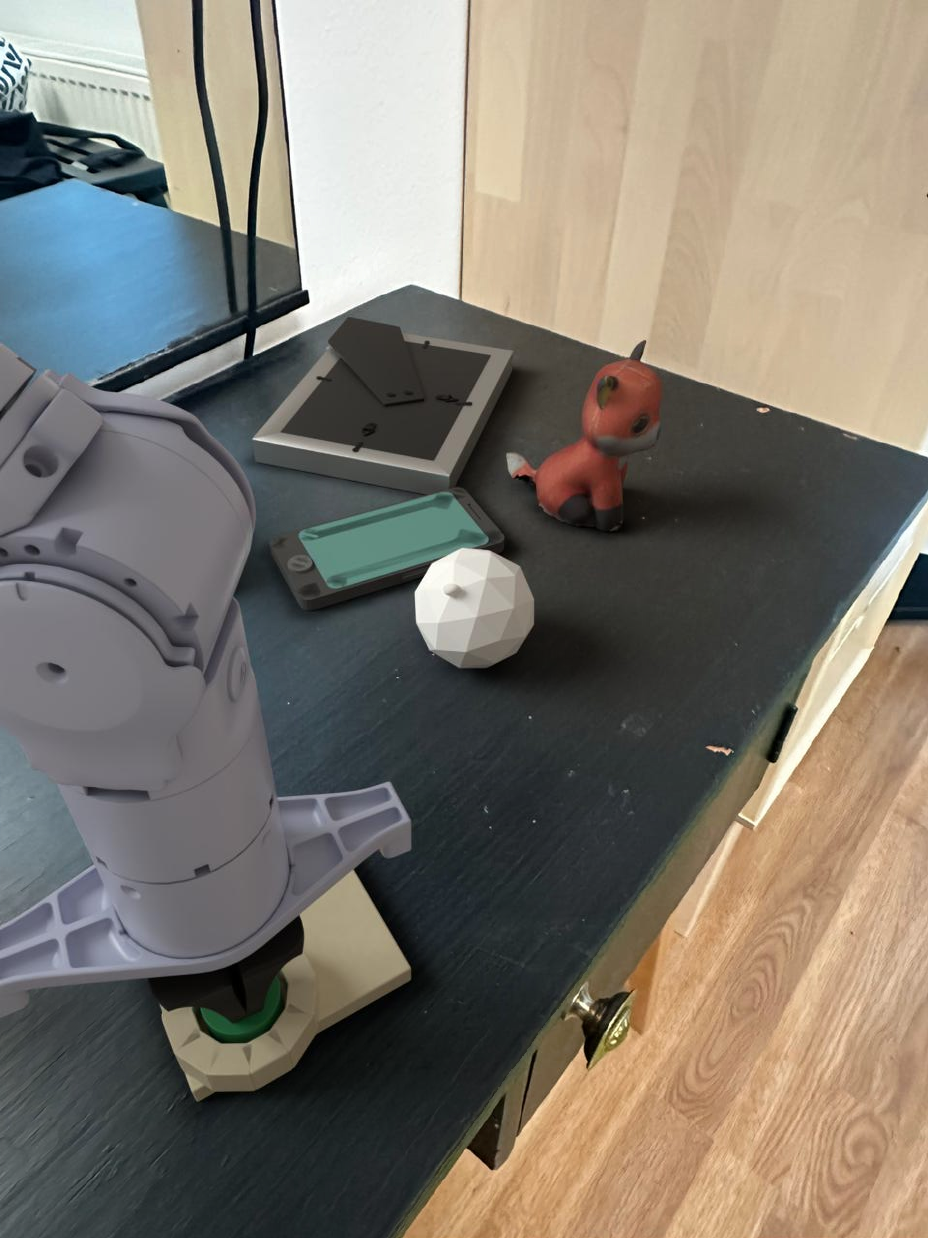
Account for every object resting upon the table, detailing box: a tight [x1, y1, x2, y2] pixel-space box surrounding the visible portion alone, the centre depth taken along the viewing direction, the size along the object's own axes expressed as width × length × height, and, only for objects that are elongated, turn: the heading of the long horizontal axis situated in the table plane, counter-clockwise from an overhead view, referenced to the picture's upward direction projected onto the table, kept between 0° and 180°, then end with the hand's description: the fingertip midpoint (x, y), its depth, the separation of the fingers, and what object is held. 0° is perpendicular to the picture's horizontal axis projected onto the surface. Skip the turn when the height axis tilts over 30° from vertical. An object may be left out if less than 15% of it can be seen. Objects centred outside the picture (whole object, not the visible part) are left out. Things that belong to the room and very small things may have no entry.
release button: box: [200, 968, 284, 1044], centre depth 37 cm, size 3×3×2 cm
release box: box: [159, 868, 412, 1102], centre depth 39 cm, size 10×9×3 cm
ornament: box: [414, 548, 535, 669], centre depth 53 cm, size 7×7×8 cm
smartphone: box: [269, 486, 505, 612], centre depth 62 cm, size 7×1×15 cm
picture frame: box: [251, 316, 514, 496], centre depth 75 cm, size 16×3×21 cm
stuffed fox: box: [506, 339, 663, 532], centre depth 64 cm, size 8×11×12 cm
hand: (240, 995), depth 36 cm, fingers closed, pressing on release button
